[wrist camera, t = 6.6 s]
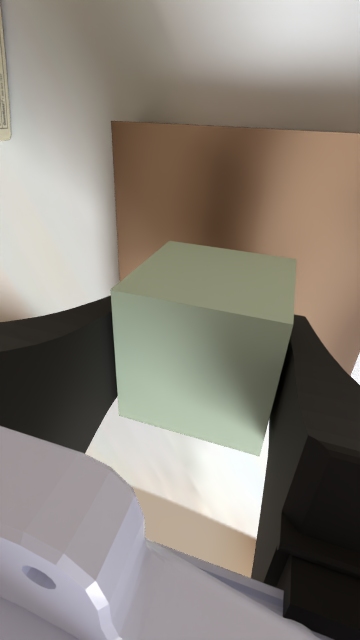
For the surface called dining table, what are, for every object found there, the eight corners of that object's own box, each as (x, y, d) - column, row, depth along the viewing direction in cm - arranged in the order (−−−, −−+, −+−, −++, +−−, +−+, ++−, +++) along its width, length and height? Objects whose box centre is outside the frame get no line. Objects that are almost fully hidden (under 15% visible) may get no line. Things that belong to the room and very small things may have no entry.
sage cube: (296, 259, 11) (293, 324, 7) (271, 365, 13) (259, 456, 10) (169, 240, 12) (110, 289, 8) (166, 342, 14) (119, 415, 11)
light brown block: (421, 136, 13) (443, 137, 11) (334, 376, 19) (338, 406, 17) (136, 122, 16) (111, 120, 14) (140, 333, 22) (123, 355, 20)
